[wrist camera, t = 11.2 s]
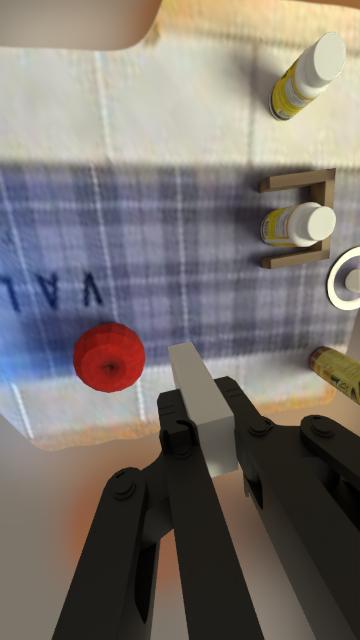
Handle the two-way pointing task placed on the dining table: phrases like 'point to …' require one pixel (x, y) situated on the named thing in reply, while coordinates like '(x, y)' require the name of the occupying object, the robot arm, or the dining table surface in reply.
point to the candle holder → (354, 282)
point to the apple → (109, 357)
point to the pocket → (320, 194)
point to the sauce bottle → (338, 371)
